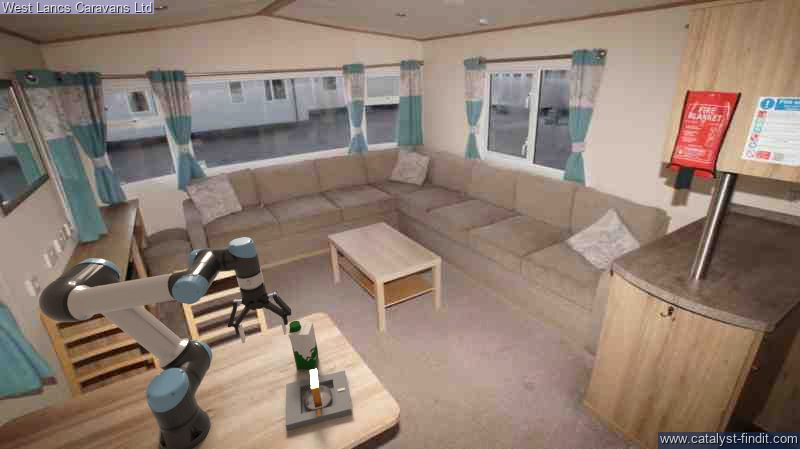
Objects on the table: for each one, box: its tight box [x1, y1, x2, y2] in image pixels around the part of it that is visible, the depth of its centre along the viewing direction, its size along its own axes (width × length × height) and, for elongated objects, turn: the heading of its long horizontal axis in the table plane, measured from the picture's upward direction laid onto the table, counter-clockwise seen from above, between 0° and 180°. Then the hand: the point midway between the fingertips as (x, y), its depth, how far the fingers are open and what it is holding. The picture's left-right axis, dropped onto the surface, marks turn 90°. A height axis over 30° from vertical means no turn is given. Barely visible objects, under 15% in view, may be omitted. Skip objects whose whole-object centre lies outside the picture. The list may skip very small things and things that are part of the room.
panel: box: [285, 370, 353, 431], centre depth 136 cm, size 22×18×3 cm
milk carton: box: [287, 320, 319, 371], centre depth 150 cm, size 9×9×20 cm
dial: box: [304, 368, 332, 411], centre depth 134 cm, size 10×10×10 cm
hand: (264, 336), depth 130 cm, fingers open, 13 cm apart
